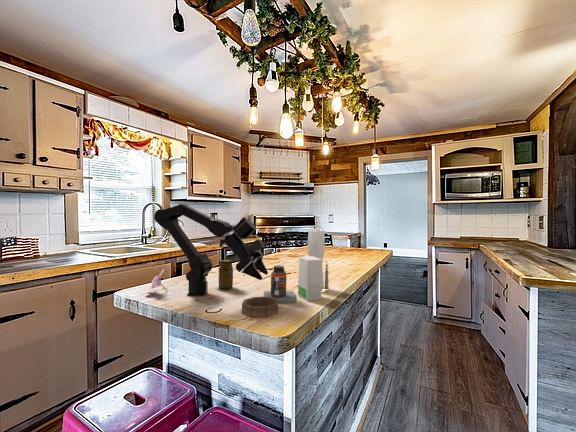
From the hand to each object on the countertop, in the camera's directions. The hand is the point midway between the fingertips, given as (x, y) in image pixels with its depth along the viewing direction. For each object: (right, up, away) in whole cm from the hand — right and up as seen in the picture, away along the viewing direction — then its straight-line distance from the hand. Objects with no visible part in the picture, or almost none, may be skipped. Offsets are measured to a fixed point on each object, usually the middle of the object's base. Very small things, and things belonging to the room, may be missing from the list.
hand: (264, 276), depth 109 cm
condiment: (-18, -8, +13) cm, 23 cm away
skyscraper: (+21, -9, +11) cm, 26 cm away
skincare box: (+18, -8, 0) cm, 20 cm away
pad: (+6, -8, -1) cm, 10 cm away
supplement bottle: (+5, -7, -1) cm, 9 cm away
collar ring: (0, -8, -15) cm, 17 cm away
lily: (-44, -8, +5) cm, 45 cm away
